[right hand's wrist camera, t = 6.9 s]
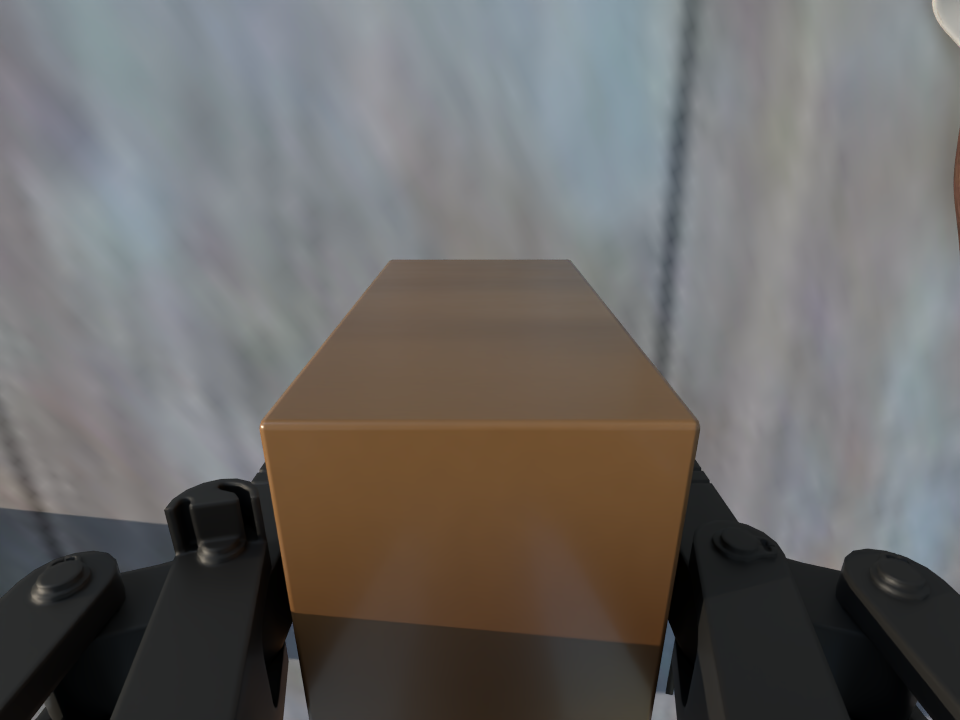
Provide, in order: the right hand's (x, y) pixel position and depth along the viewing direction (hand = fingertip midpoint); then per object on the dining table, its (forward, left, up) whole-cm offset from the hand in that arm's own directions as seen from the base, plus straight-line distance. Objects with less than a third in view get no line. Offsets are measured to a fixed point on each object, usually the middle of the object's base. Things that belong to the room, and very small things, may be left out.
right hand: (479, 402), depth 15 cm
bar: (+5, +8, -1) cm, 9 cm away
